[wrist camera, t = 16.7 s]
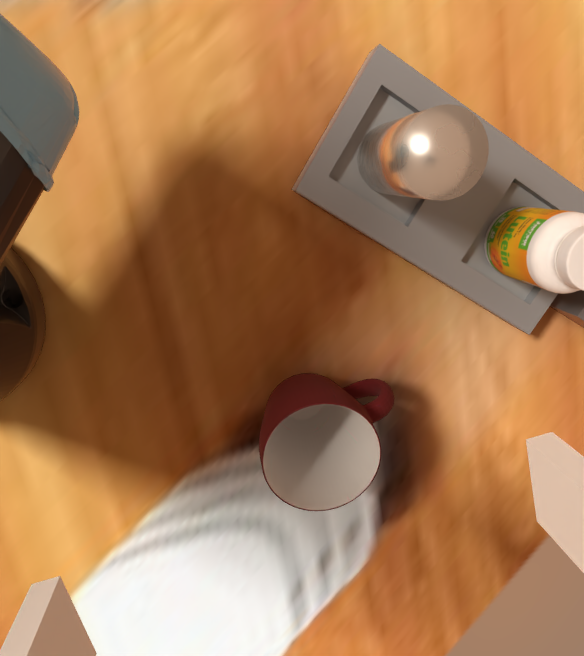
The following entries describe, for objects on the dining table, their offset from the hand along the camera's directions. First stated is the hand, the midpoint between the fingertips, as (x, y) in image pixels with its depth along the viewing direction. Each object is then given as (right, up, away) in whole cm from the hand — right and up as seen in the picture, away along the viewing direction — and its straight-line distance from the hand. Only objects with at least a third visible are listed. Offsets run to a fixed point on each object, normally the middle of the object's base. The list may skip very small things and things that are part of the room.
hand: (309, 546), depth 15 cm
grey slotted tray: (+12, +16, +27) cm, 33 cm away
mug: (+1, +1, +30) cm, 30 cm away
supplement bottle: (+17, +13, +27) cm, 34 cm away
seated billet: (+7, +18, +24) cm, 31 cm away
